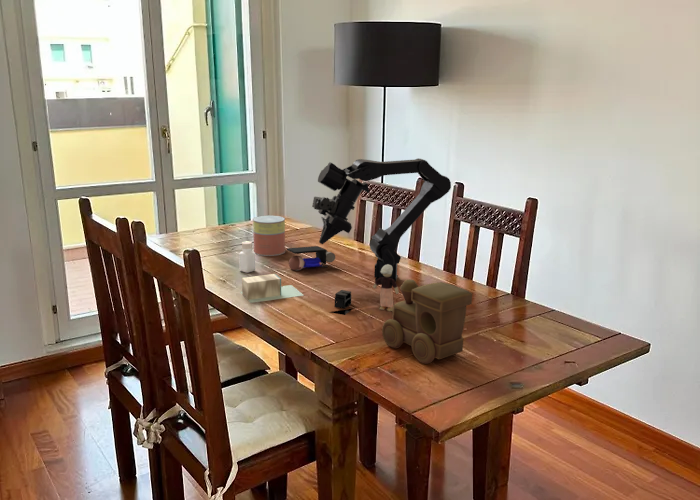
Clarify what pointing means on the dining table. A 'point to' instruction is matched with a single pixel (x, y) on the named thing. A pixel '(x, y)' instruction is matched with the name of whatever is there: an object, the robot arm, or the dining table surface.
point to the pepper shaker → (247, 258)
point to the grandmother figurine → (386, 288)
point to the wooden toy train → (428, 320)
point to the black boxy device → (342, 302)
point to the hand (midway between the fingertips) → (320, 243)
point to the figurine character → (321, 257)
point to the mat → (285, 293)
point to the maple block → (261, 286)
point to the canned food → (269, 235)
